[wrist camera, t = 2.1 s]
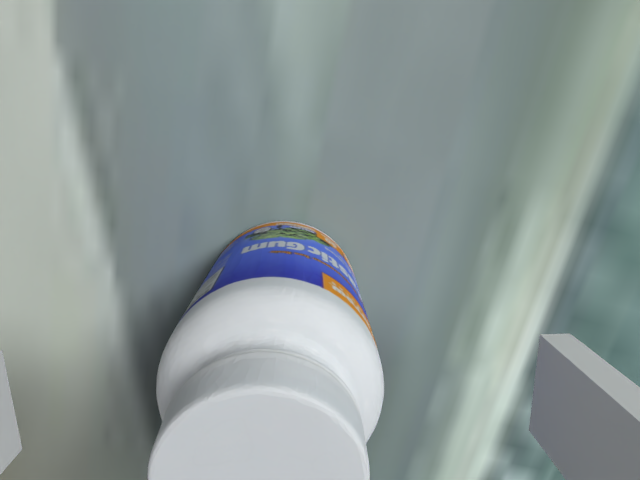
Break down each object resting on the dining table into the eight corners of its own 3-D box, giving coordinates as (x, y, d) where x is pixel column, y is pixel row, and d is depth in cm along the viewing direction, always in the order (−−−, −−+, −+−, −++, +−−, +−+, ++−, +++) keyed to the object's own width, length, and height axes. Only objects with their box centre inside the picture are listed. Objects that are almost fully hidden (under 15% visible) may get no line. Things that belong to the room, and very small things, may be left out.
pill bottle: (377, 252, 17) (472, 414, 8) (318, 369, 18) (337, 632, 9) (244, 193, 16) (169, 294, 7) (190, 319, 17) (64, 552, 8)
